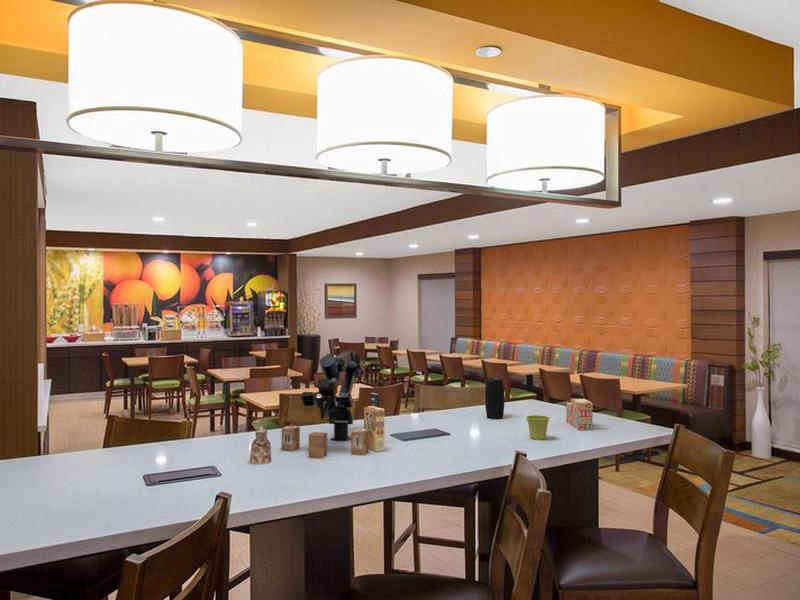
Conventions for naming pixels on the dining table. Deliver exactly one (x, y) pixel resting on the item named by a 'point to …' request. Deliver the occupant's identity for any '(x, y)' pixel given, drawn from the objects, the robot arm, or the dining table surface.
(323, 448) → the plain block
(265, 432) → the figurine
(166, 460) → the dining table surface
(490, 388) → the portable speaker
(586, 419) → the patterned cardboard box
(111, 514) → the dining table surface
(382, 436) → the candy box
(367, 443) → the tile block
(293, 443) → the tile block
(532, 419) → the plant pot
